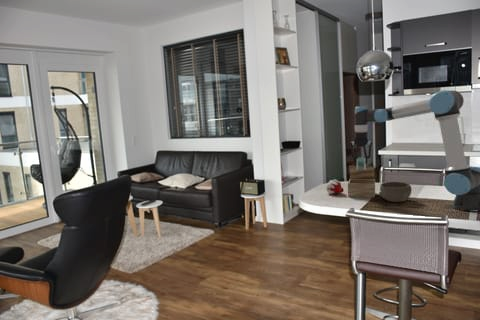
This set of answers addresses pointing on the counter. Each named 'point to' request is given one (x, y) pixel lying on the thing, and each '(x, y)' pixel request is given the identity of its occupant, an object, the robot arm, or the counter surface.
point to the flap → (361, 171)
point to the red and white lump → (334, 187)
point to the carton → (361, 188)
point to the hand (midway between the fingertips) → (361, 169)
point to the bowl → (395, 191)
